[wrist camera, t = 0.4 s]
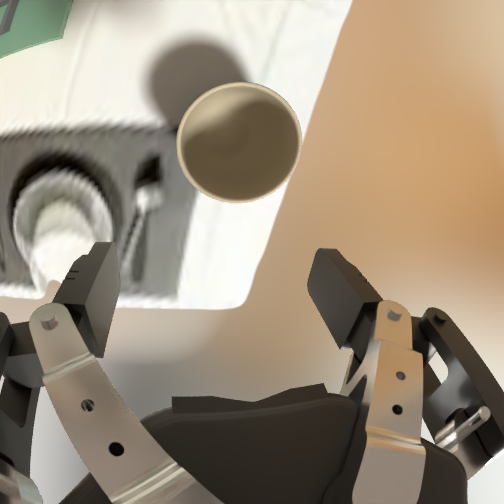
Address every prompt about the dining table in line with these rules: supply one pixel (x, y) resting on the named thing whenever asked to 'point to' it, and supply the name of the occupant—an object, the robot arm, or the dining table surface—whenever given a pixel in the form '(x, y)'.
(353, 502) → the robot arm
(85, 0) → the dining table surface
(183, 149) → the planter
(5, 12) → the board
